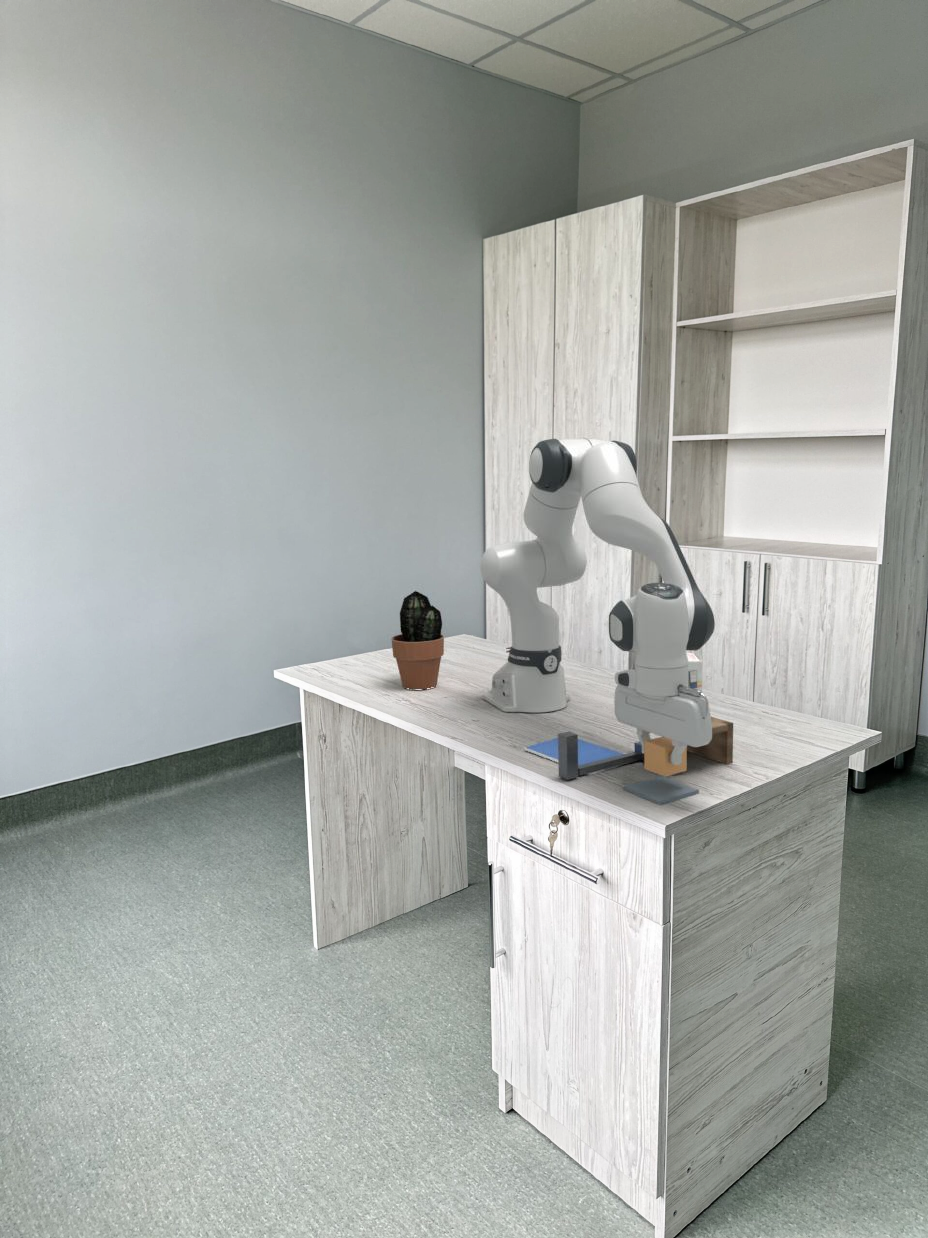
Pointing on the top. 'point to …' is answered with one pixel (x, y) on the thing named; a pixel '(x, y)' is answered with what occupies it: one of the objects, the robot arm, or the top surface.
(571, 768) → the grey u-shaped bracket
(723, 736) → the walnut shelf
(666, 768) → the orange block
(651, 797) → the slate mat
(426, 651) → the potted plant
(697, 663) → the ink box
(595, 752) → the blue flat slab
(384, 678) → the top surface
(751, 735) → the top surface
